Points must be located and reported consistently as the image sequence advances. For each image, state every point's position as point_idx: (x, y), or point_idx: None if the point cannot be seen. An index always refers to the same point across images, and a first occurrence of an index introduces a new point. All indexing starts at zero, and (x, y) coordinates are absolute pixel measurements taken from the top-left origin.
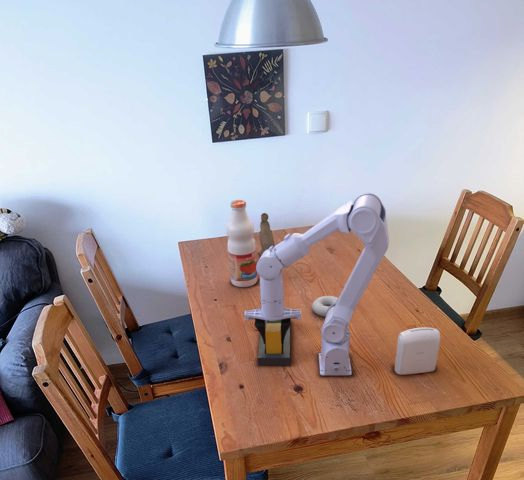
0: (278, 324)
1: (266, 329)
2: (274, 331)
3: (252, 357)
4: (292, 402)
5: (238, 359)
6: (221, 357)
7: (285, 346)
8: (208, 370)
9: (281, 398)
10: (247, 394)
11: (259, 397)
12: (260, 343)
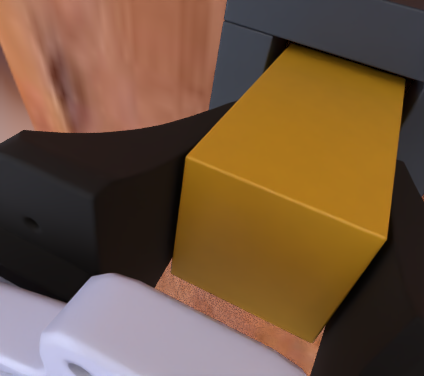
0: (336, 247)
1: (181, 256)
2: (252, 313)
3: (197, 62)
4: (302, 359)
5: (126, 56)
6: (43, 7)
7: (422, 131)
8: (21, 95)
9: (272, 332)
10: (168, 267)
11: (204, 294)
12: (232, 21)
